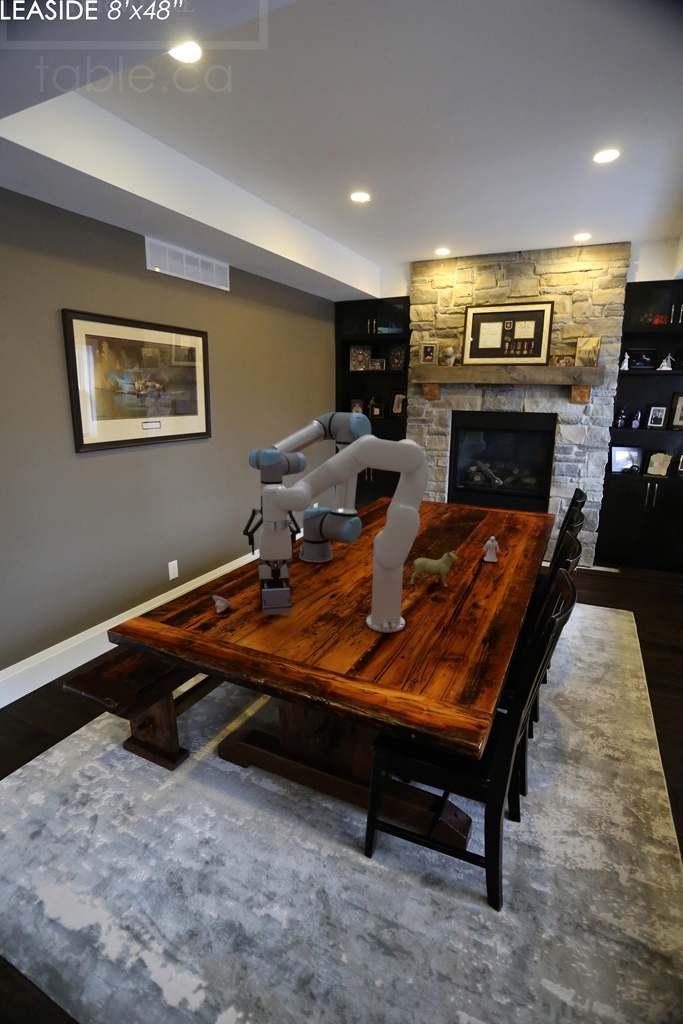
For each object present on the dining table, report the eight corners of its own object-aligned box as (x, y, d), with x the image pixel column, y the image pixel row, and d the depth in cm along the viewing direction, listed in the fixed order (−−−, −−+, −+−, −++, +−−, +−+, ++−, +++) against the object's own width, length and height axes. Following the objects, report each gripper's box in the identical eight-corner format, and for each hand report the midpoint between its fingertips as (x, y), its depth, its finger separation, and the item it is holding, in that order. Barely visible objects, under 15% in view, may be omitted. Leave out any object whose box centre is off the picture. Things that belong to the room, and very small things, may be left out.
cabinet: (289, 605, 175) (289, 577, 172) (260, 607, 173) (259, 578, 170) (286, 590, 188) (286, 563, 185) (259, 592, 186) (258, 565, 183)
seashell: (218, 620, 170) (203, 603, 170) (229, 610, 174) (214, 593, 173) (227, 616, 164) (211, 598, 164) (238, 606, 168) (222, 587, 167)
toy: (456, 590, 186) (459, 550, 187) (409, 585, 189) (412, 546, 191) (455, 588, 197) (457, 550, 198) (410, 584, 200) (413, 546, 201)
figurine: (481, 562, 222) (483, 536, 219) (482, 556, 230) (484, 531, 227) (499, 564, 220) (501, 538, 217) (499, 558, 228) (501, 533, 225)
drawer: (291, 621, 161) (291, 596, 159) (263, 623, 159) (262, 598, 157) (286, 598, 179) (286, 575, 177) (261, 599, 177) (261, 576, 175)
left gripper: (306, 491, 179) (306, 548, 184) (235, 493, 174) (237, 551, 179) (308, 496, 172) (308, 554, 177) (234, 497, 167) (236, 557, 172)
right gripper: (297, 520, 161) (297, 573, 166) (250, 521, 158) (252, 576, 163) (300, 526, 154) (300, 582, 158) (250, 528, 151) (252, 585, 156)
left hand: (272, 553), depth 178 cm, fingers open, 13 cm apart
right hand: (275, 579), depth 161 cm, fingers closed
